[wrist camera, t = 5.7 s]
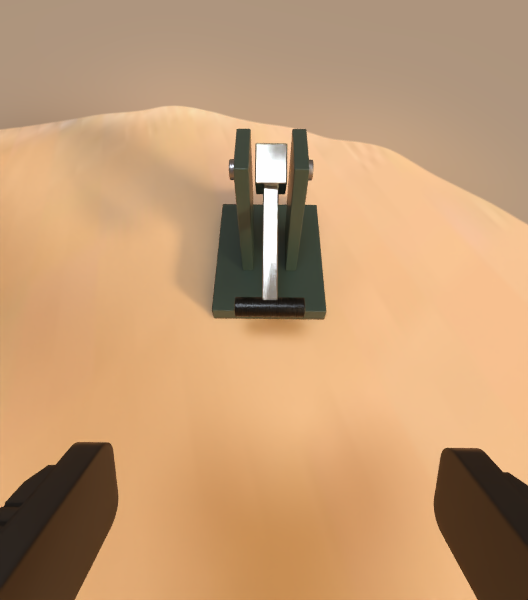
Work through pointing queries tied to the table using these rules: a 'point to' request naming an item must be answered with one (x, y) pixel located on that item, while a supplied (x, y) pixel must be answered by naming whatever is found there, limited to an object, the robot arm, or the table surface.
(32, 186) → the table surface
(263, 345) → the table surface
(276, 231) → the lever
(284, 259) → the bracket
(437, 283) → the table surface
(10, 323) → the table surface
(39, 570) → the robot arm
